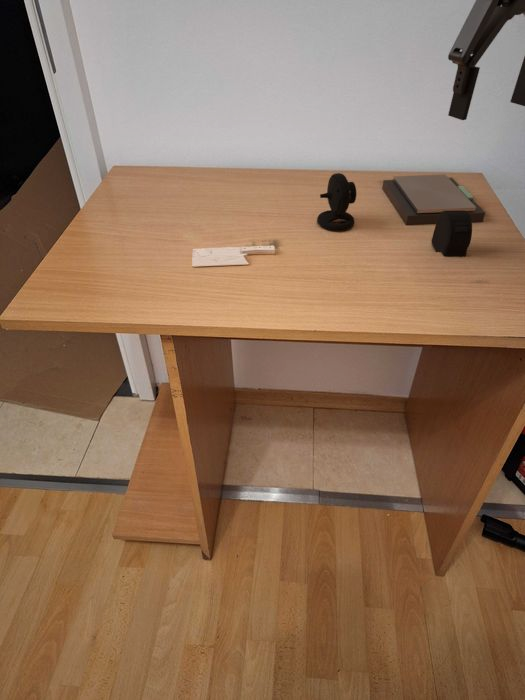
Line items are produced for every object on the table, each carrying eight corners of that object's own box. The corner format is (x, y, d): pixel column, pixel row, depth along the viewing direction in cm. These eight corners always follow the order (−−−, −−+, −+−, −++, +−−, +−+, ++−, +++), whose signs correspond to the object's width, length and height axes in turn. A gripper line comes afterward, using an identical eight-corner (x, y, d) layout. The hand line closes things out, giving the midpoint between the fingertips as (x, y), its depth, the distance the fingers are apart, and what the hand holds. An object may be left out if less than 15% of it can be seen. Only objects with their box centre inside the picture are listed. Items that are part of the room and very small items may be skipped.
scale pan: (444, 177, 110) (445, 174, 109) (475, 211, 97) (476, 207, 96) (392, 179, 109) (393, 176, 108) (416, 213, 96) (417, 209, 96)
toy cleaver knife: (276, 263, 86) (276, 258, 85) (192, 267, 86) (191, 262, 85) (274, 249, 90) (274, 243, 89) (193, 252, 89) (192, 247, 89)
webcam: (360, 229, 96) (367, 180, 89) (324, 234, 94) (329, 184, 88) (345, 212, 101) (351, 165, 95) (311, 217, 100) (315, 168, 93)
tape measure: (429, 243, 92) (439, 203, 86) (452, 243, 92) (464, 203, 86) (453, 286, 81) (466, 243, 76) (479, 285, 81) (494, 243, 76)
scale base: (449, 186, 112) (452, 174, 110) (482, 221, 98) (486, 209, 96) (382, 188, 111) (383, 177, 109) (405, 225, 97) (408, 213, 96)
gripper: (578, -80, 65) (522, 93, 79) (446, -81, 55) (409, 116, 69) (634, -81, 60) (564, 104, 74) (500, -81, 51) (448, 131, 65)
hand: (489, 110), depth 72 cm, fingers open, 13 cm apart
